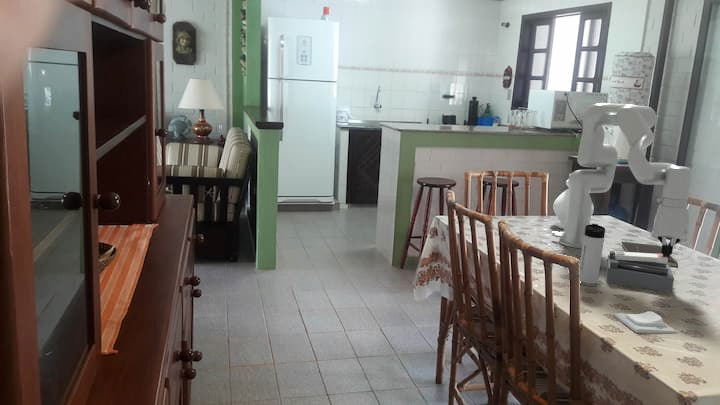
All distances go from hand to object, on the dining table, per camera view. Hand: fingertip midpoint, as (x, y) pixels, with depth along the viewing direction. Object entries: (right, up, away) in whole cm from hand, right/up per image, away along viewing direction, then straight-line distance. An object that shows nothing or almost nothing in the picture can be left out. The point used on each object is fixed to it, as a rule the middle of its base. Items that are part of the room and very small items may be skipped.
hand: (665, 255), depth 195 cm
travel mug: (-27, -9, -1) cm, 29 cm away
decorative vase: (-5, +6, +75) cm, 75 cm away
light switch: (-23, -17, -32) cm, 43 cm away
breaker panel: (-7, -9, +5) cm, 13 cm away
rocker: (-7, -1, +3) cm, 8 cm away
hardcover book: (+12, -4, +36) cm, 38 cm away
